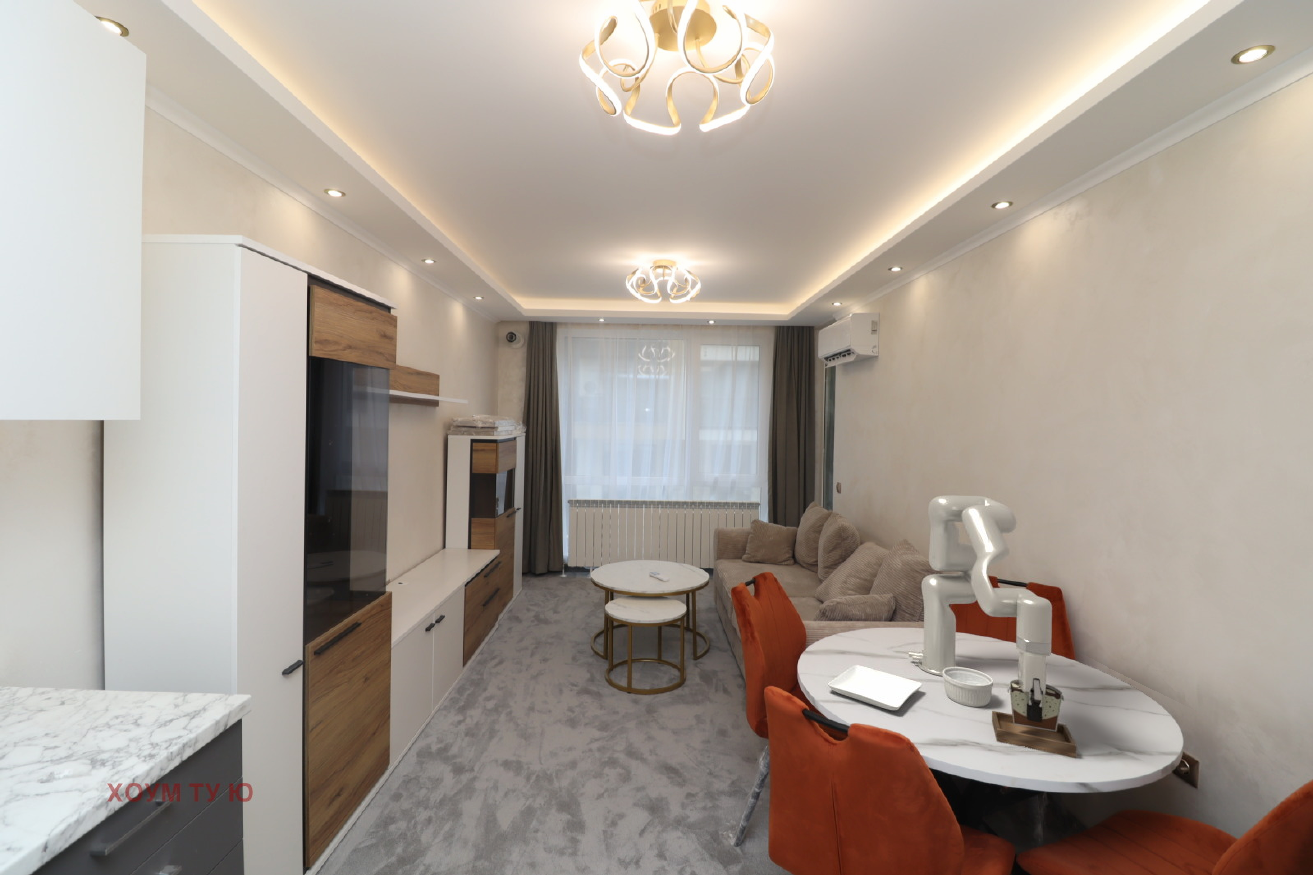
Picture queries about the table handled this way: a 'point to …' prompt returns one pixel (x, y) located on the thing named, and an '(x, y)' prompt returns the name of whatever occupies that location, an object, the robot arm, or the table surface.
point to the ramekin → (967, 686)
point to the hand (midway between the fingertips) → (1032, 714)
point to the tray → (1033, 736)
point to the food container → (1049, 707)
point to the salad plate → (874, 687)
